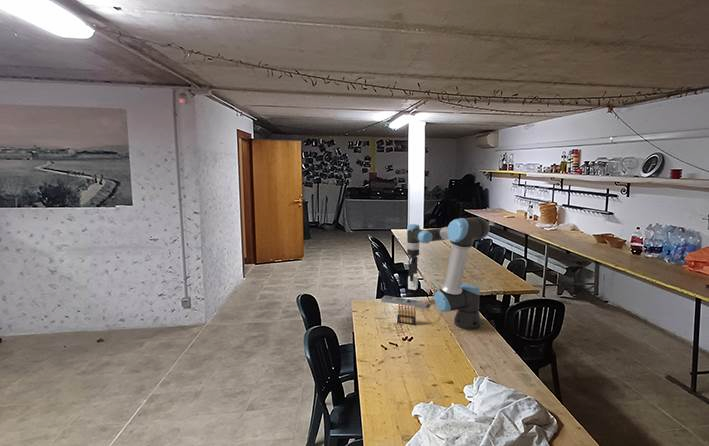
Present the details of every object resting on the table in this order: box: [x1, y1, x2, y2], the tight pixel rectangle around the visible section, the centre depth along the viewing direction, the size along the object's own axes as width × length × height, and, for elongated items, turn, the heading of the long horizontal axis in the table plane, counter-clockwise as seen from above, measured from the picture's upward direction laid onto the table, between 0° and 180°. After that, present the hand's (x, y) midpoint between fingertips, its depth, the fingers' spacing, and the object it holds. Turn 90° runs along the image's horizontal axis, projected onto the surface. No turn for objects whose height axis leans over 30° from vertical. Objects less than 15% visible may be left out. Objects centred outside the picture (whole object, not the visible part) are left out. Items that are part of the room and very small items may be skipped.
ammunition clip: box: [396, 303, 417, 326], centre depth 226 cm, size 11×2×12 cm, turn 71°
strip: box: [380, 295, 430, 309], centre depth 254 cm, size 42×7×4 cm, turn 66°
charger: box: [407, 275, 419, 291], centre depth 251 cm, size 5×4×8 cm
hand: (412, 284), depth 251 cm, fingers closed on charger, 4 cm apart
